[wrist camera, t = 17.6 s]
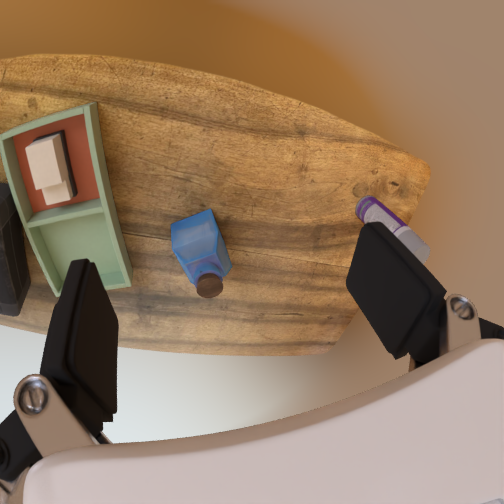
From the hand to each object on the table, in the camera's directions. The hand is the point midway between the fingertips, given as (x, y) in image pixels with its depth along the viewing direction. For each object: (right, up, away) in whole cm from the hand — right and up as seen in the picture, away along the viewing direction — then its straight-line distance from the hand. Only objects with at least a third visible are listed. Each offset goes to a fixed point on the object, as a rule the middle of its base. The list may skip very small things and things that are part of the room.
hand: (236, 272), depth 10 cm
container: (+21, +9, +39) cm, 45 cm away
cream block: (-25, +12, +20) cm, 34 cm away
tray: (-25, +7, +24) cm, 36 cm away
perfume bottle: (-7, +4, +33) cm, 34 cm away
